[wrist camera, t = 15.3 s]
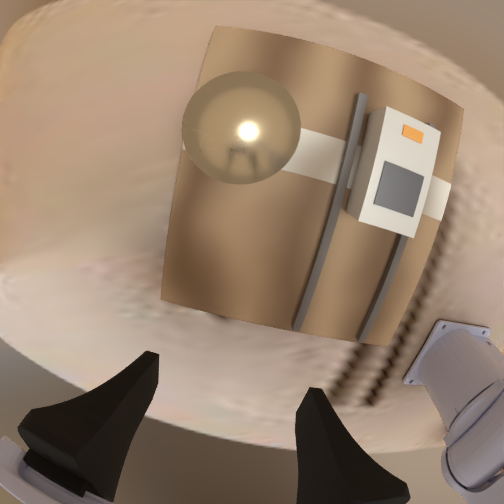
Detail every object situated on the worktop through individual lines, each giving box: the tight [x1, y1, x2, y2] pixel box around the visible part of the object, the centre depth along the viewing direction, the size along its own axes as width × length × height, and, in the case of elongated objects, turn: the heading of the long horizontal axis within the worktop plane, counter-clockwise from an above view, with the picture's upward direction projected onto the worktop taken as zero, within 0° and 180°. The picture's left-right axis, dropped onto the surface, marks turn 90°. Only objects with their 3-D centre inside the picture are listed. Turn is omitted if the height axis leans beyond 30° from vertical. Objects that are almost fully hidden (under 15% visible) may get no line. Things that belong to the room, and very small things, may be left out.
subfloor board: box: [161, 26, 464, 346], centre depth 18 cm, size 20×21×2 cm
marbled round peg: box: [182, 71, 301, 185], centre depth 13 cm, size 4×4×8 cm
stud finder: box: [345, 106, 441, 238], centre depth 15 cm, size 4×7×3 cm, turn 167°
